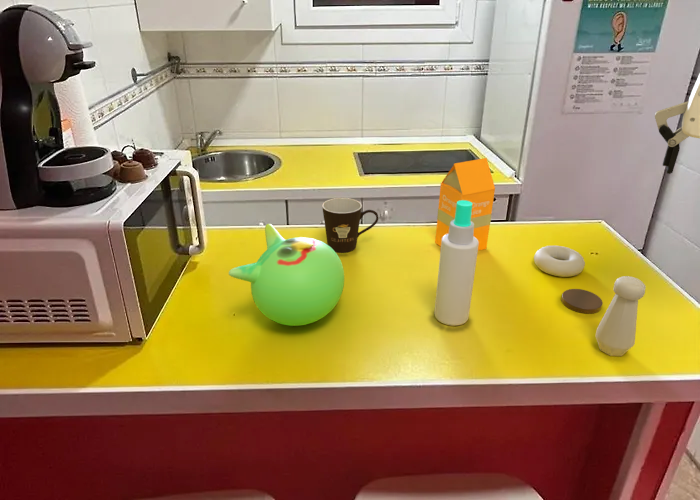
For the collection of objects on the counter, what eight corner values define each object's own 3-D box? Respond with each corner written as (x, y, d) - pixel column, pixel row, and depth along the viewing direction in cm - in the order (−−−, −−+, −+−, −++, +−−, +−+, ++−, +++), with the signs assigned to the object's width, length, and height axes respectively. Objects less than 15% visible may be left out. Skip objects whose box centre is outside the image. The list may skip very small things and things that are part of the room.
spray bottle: (432, 307, 96) (443, 195, 85) (465, 308, 95) (480, 196, 85) (436, 326, 90) (448, 210, 80) (471, 327, 90) (487, 211, 80)
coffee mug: (316, 250, 115) (315, 209, 110) (332, 235, 122) (331, 195, 117) (365, 260, 111) (366, 218, 107) (378, 244, 118) (380, 203, 114)
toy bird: (328, 350, 84) (326, 272, 78) (232, 335, 88) (223, 259, 81) (353, 292, 100) (354, 223, 93) (271, 281, 103) (266, 214, 97)
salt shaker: (616, 336, 88) (636, 269, 82) (639, 357, 83) (662, 288, 77) (585, 339, 87) (603, 272, 81) (605, 361, 82) (626, 292, 76)
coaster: (602, 299, 98) (604, 294, 98) (599, 317, 93) (600, 313, 92) (564, 289, 101) (565, 285, 101) (558, 307, 96) (559, 302, 95)
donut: (550, 283, 104) (593, 276, 106) (553, 268, 102) (597, 261, 104) (523, 259, 112) (564, 253, 114) (525, 245, 111) (567, 240, 113)
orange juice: (434, 242, 119) (442, 158, 110) (465, 235, 123) (475, 152, 113) (455, 257, 113) (465, 169, 104) (487, 248, 116) (499, 163, 107)
